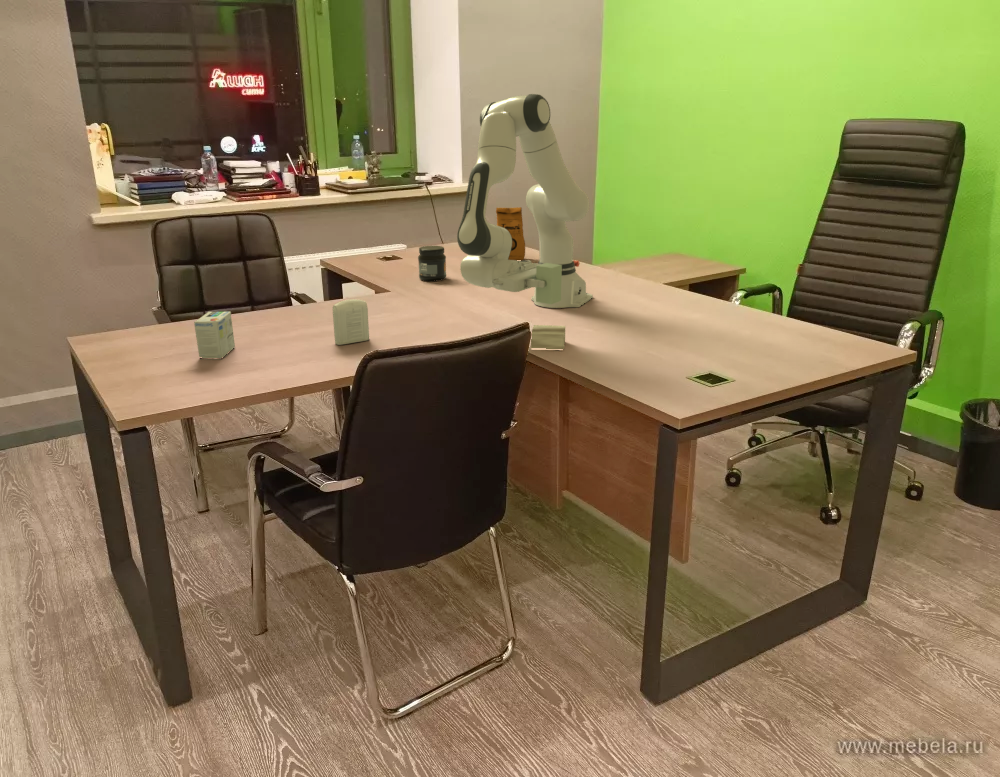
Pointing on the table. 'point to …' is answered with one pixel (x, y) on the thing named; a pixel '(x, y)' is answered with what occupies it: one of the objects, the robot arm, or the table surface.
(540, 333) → the base block
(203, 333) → the light bulb box
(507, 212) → the coffee package
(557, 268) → the green block
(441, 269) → the supplement container
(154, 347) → the table surface
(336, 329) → the photo printer
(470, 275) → the robot arm
